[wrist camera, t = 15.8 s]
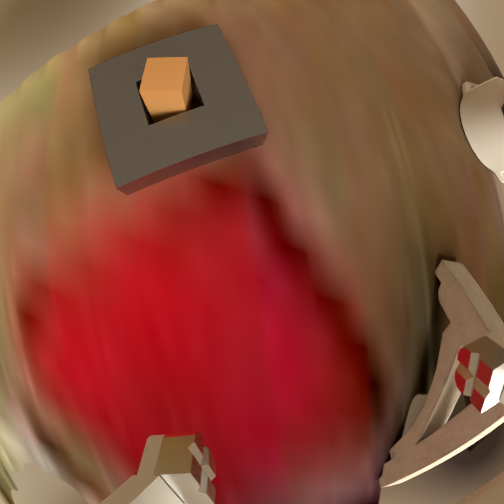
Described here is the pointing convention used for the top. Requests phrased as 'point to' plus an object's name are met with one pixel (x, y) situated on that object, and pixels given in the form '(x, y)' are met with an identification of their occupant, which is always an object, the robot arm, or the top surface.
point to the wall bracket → (448, 383)
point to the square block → (166, 87)
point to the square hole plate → (179, 126)
